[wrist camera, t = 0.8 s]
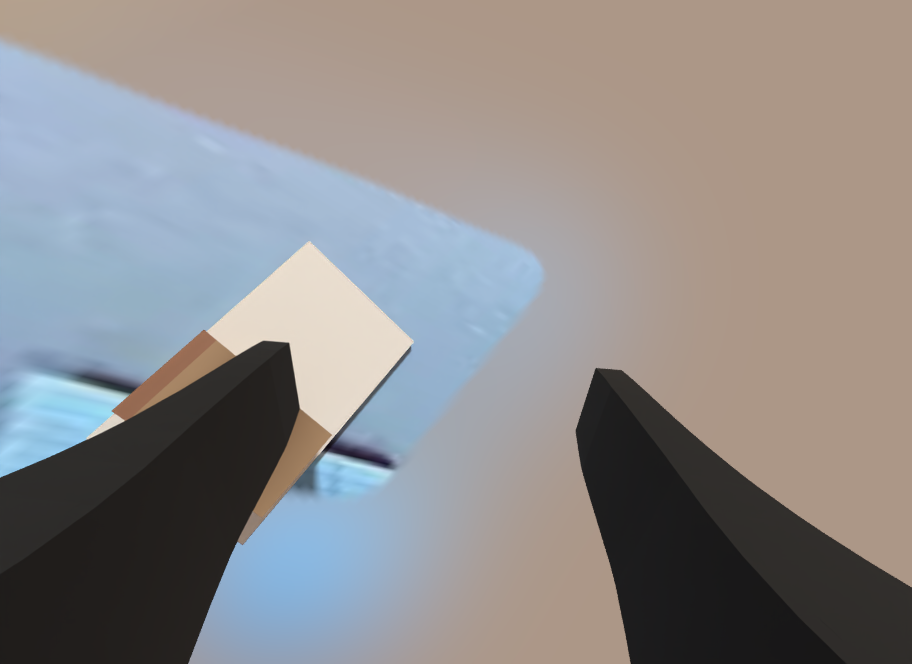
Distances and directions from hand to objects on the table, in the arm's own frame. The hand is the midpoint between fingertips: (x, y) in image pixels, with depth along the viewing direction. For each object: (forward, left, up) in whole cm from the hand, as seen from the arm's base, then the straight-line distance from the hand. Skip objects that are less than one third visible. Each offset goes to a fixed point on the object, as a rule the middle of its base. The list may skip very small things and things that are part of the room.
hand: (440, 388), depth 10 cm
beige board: (-1, +2, -14) cm, 14 cm away
